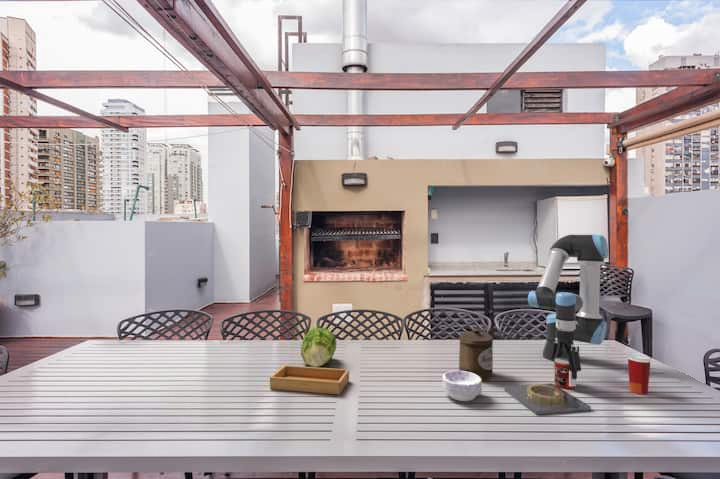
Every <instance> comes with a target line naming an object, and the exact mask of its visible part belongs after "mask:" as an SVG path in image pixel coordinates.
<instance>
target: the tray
mask: <svg viewBox="0 0 720 479" xmlns="http://www.w3.org/2000/svg"><path fill="white" fill-rule="evenodd" d="M349 381H350V370H349V369H345V368H343V369H342V368H331V367H330V368H329V367H313V366H300V365H290V364H289V365H288V364H287V365H285V364H284V365H283V366H282V367H281V368H279V369H278V370H277V371H276V372H274V374H272V375H271V376H270V377H269V389H270V390H281V391H294V392H305V393H314V394H315V393H317V394H328V395H341V393H342V392H343V391H344V390H345V388H346V386H347V385H348V383H349Z"/></svg>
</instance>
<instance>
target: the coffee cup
mask: <svg viewBox="0 0 720 479" xmlns="http://www.w3.org/2000/svg"><path fill="white" fill-rule="evenodd" d="M626 359H627V370H628V387H629V392H632V393H633V394H637V395H641V396H642V395H644V396H645V395H648V392H649V383H650V373H651V372H650V371H651V363H652V359H651V357H650V356H648V355H646V354H643V353H638V352H629V353H628V354H627V356H626Z"/></svg>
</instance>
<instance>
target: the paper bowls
mask: <svg viewBox="0 0 720 479" xmlns="http://www.w3.org/2000/svg"><path fill="white" fill-rule="evenodd" d="M482 383H483V381H482V380H481V378H480V377H479V376H478V375H476V374H474V373H471V372H467V371H459V370H450V371H447V372H445V373H443V374H442V390H443V391H444V392H445V393H447V394H448V396H449V398H452V399H453V400H456V401H460V402H470V401H473V400H474V399H475V398H476V397H477V396H479V395H481V393H482V390H483V387H482V386H483V385H482Z"/></svg>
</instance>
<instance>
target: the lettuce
mask: <svg viewBox="0 0 720 479" xmlns="http://www.w3.org/2000/svg"><path fill="white" fill-rule="evenodd" d="M336 349H337V339H336V336H335V334H334V333H333V332H332V331H331V330H330V329H328V328H325V327H314V328H312V329H309V330H308V331H307V333H305V335H304V337H303V338H302V342H301V346H300V355H301V357H302V360H303V362H304V363H305V364H307V365H308V366H309V367H317V368H320V367H322V366H324V365H327V363H328V362H330V360H332V358H333V356H334V355H335V352H336Z"/></svg>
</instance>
